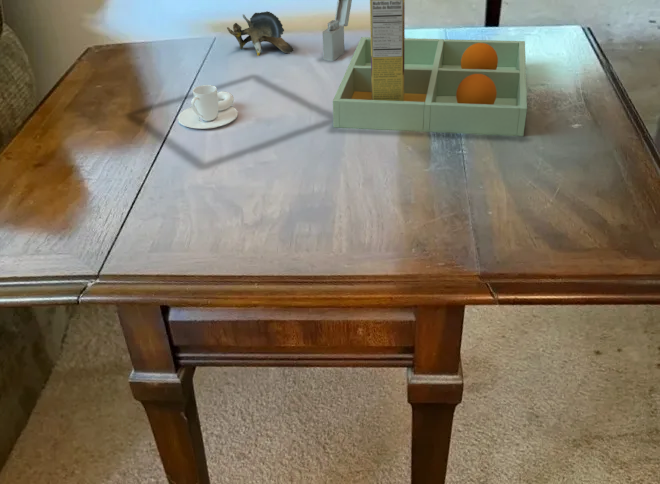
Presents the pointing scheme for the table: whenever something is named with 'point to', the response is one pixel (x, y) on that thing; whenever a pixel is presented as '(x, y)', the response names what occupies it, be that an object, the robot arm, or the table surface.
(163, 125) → the table surface
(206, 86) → the teacup and saucer
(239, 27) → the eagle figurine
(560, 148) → the table surface
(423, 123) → the divided tray
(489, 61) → the clementine
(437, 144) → the table surface
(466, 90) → the clementine
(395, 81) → the candy box
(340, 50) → the lighter
